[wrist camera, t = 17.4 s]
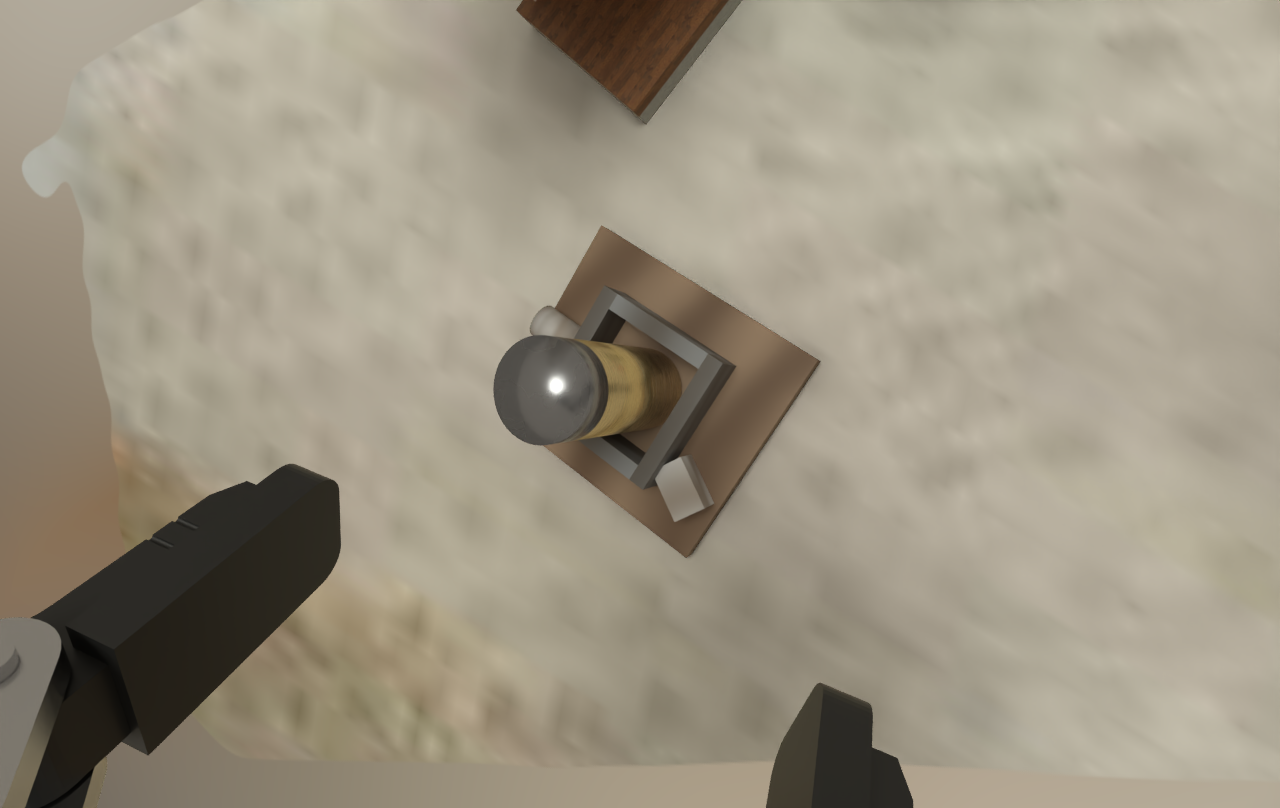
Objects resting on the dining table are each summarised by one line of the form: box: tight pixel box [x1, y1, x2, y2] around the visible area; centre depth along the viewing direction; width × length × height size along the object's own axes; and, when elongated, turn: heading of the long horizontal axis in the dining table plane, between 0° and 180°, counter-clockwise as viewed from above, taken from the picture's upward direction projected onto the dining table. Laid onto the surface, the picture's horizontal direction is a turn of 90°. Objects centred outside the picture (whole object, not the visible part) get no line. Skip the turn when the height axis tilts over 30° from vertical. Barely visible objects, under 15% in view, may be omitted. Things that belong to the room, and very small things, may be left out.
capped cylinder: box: [494, 335, 682, 445], centre depth 36 cm, size 5×5×12 cm
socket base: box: [530, 225, 820, 558], centre depth 41 cm, size 16×14×4 cm
